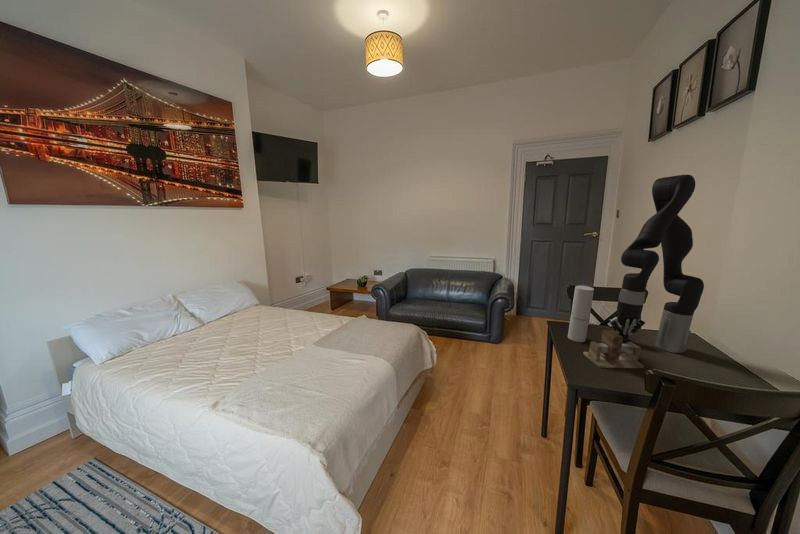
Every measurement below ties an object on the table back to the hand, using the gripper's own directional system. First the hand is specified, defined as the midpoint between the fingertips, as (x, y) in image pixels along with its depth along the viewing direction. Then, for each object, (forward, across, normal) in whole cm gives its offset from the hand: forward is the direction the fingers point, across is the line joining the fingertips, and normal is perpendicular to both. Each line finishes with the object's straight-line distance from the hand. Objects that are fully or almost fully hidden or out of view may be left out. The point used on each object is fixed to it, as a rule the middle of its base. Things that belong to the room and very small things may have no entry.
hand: (622, 341), depth 111 cm
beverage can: (+9, -14, -17) cm, 24 cm away
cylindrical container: (+9, +6, -19) cm, 22 cm away
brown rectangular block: (+6, +4, 0) cm, 7 cm away
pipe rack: (+8, +3, 0) cm, 9 cm away
